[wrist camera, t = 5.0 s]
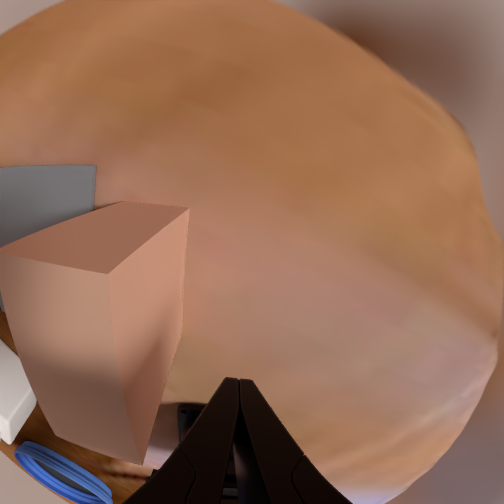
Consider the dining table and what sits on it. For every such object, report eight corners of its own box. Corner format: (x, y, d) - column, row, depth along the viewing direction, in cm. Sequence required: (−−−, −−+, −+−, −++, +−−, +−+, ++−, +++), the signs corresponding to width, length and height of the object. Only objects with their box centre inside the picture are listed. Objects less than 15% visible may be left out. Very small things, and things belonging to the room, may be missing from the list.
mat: (102, 341, 17) (100, 344, 17) (4, 309, 16) (1, 311, 16) (96, 165, 14) (93, 165, 13) (-9, 168, 13) (-13, 168, 13)
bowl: (95, 500, 29) (91, 512, 26) (17, 448, 25) (10, 460, 22) (134, 492, 26) (129, 510, 23) (28, 425, 22) (18, 442, 18)
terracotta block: (181, 333, 17) (142, 465, 7) (124, 322, 17) (55, 435, 7) (189, 207, 15) (107, 274, 5) (123, 201, 15) (-6, 250, 5)
